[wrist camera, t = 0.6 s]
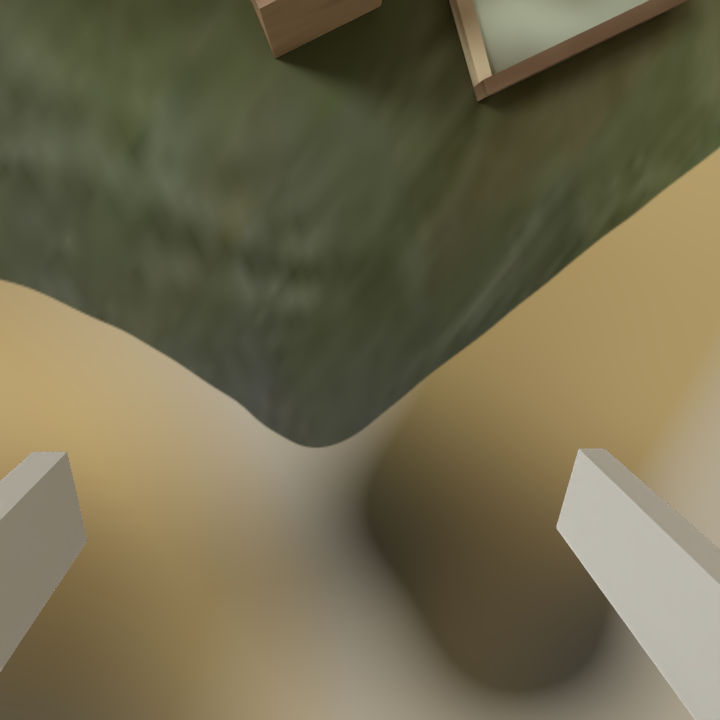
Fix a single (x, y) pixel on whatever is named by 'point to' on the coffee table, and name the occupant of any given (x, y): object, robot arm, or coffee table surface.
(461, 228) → the coffee table surface
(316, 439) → the coffee table surface
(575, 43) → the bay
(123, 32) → the coffee table surface
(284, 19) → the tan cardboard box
